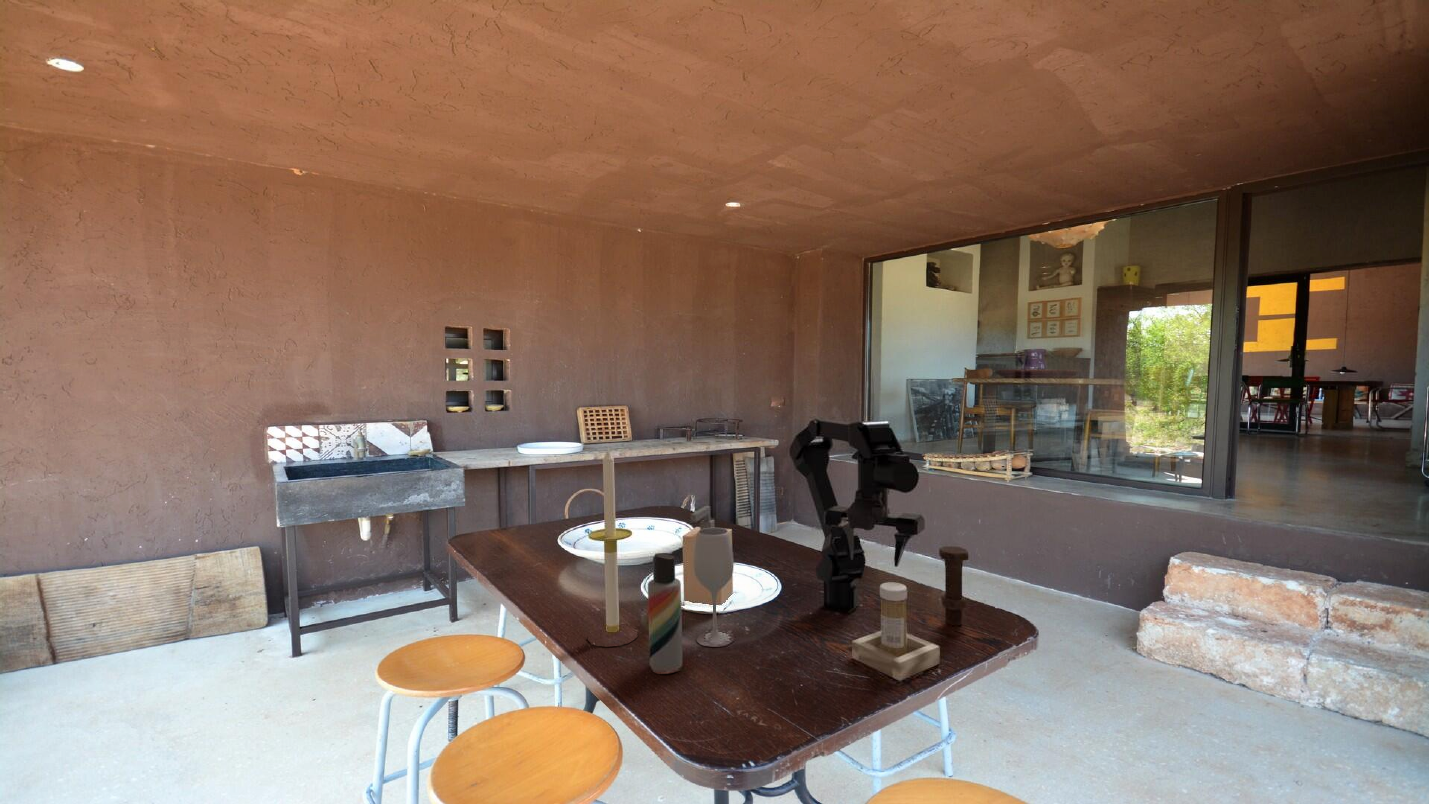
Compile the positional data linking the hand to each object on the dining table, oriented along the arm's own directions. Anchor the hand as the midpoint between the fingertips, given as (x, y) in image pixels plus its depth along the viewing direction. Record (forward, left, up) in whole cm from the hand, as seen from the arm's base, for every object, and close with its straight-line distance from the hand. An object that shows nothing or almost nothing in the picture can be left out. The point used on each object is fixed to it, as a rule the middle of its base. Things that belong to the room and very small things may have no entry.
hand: (873, 562), depth 124 cm
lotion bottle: (-25, -35, -13) cm, 45 cm away
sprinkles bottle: (+8, -12, -13) cm, 20 cm away
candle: (-42, -30, -13) cm, 53 cm away
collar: (+8, -12, -13) cm, 19 cm away
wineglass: (-24, -21, -13) cm, 34 cm away
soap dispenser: (-35, -8, -13) cm, 38 cm away
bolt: (+13, +10, -13) cm, 21 cm away
